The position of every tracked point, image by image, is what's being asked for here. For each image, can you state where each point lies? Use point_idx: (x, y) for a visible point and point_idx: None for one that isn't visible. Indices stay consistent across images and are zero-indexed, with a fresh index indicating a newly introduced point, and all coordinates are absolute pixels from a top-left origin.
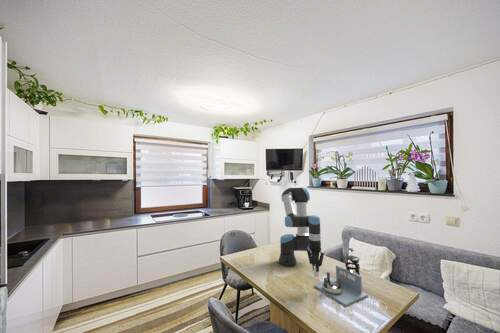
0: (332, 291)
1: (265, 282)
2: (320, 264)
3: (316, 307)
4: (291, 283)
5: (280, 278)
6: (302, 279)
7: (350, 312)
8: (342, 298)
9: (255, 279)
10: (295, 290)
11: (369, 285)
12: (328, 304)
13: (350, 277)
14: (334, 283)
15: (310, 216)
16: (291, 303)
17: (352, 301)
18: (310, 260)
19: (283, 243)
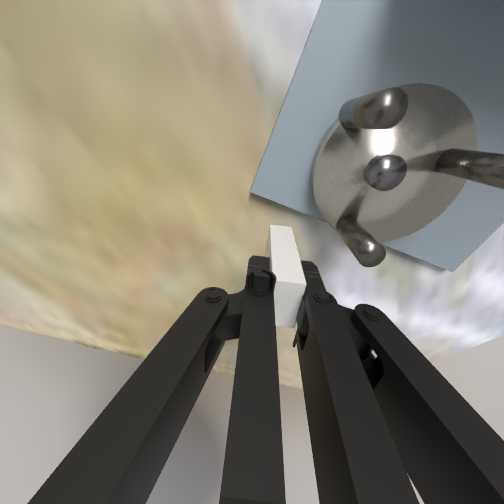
0: (392, 238)
1: (53, 307)
2: (383, 370)
3: None
4: (133, 242)
5: (50, 233)
6: (139, 147)
7: (461, 290)
8: (441, 232)
9: (4, 313)
10: (194, 285)
11: None
12: (364, 293)
13: None
14: (406, 118)
15: None
16: (236, 355)
17: (499, 225)
18: (204, 373)
19: None
